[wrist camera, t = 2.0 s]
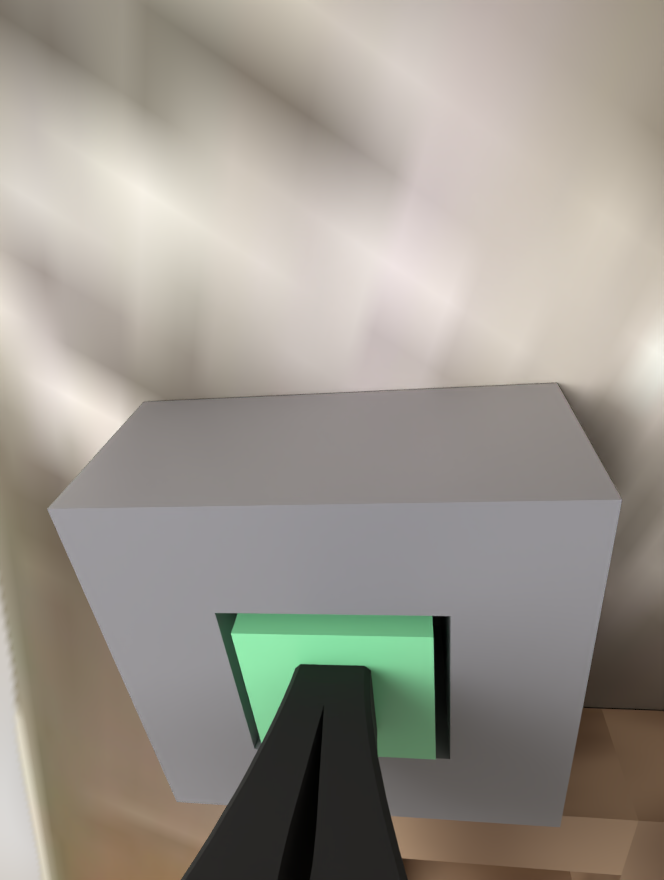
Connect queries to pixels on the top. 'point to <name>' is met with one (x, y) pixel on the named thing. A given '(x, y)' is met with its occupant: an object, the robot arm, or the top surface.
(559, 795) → the button housing
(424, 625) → the button
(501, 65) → the top surface
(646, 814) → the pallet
